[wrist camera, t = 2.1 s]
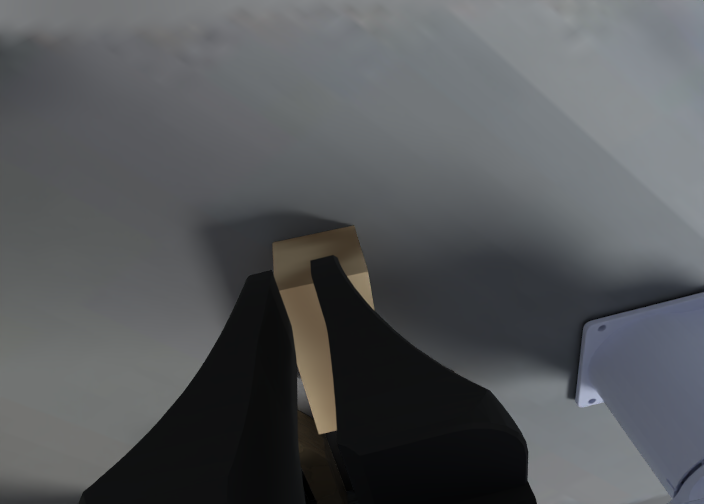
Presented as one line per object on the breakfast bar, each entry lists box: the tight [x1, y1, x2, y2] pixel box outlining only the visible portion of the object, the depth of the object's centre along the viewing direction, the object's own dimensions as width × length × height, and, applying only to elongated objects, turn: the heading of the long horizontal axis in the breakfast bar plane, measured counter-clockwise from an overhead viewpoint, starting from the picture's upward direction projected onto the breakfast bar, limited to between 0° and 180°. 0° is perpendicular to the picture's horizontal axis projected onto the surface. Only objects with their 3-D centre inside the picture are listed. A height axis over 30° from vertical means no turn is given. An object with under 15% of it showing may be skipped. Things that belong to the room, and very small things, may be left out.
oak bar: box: [272, 225, 375, 434], centre depth 26 cm, size 4×10×4 cm, turn 8°
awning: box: [297, 371, 454, 504], centre depth 31 cm, size 14×12×7 cm
